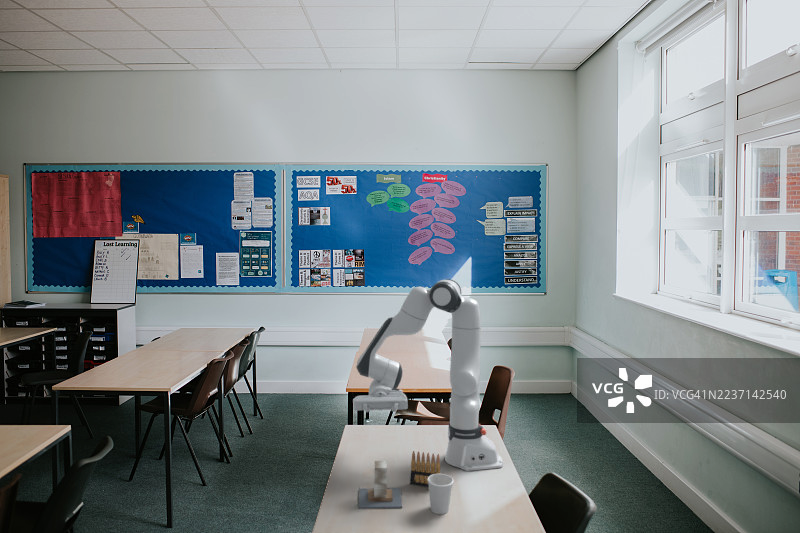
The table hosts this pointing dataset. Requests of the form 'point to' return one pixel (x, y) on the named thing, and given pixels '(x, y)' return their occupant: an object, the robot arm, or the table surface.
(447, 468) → the table surface
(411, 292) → the robot arm
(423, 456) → the ammunition clip
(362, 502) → the slate mat
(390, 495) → the pale pillar on plinth
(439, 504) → the dixie cup
